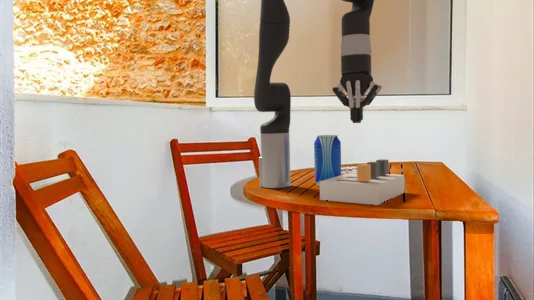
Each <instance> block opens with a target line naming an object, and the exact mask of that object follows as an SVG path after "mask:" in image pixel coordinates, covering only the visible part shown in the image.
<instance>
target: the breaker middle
mask: <svg viewBox="0 0 534 300" xmlns="http://www.w3.org/2000/svg"><path fill="white" fill-rule="evenodd" d="M366 164H371V178H377V177H380V162H376V161H369V162H366Z"/></svg>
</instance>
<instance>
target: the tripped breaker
mask: <svg viewBox="0 0 534 300" xmlns="http://www.w3.org/2000/svg"><path fill="white" fill-rule="evenodd" d="M356 169H357V170H356V173H357V181H369V180H371V164H367V163H361V164H357V165H356Z"/></svg>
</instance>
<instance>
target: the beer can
mask: <svg viewBox="0 0 534 300" xmlns="http://www.w3.org/2000/svg"><path fill="white" fill-rule="evenodd" d="M338 136H339V135H337V134H319V135H316V139H315V140H314V141H313V149H314V153H313V156H314V157H313V158H314V159H313V160H314V182H315V183H316V184H317V186H318V187H320V181H323V180H326V179H330V178H333V177H337V176H341V175H342V152H341V151H342V149H341V148H342V147H341V146H342V145H341V144H342V143H341V140H340V139H339V138H338Z"/></svg>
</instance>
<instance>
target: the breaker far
mask: <svg viewBox="0 0 534 300" xmlns="http://www.w3.org/2000/svg"><path fill="white" fill-rule="evenodd" d="M375 162H380V175H386V174H389V159H376V160H375Z"/></svg>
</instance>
